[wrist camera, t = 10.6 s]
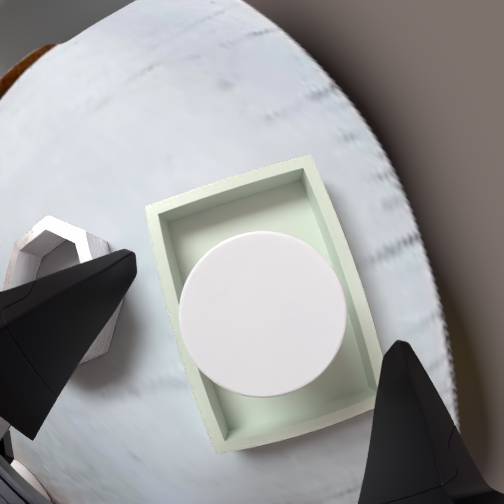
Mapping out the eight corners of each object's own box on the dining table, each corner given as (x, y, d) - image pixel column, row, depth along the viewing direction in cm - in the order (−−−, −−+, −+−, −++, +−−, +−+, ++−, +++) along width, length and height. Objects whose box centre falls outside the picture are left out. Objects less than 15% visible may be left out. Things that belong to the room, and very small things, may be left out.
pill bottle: (222, 263, 18) (169, 209, 8) (314, 265, 17) (366, 214, 8) (218, 354, 17) (159, 404, 7) (311, 357, 16) (360, 413, 7)
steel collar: (99, 387, 17) (77, 396, 14) (18, 326, 19) (-4, 326, 16) (139, 254, 19) (118, 244, 16) (49, 217, 20) (28, 206, 17)
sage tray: (378, 389, 16) (392, 399, 14) (223, 437, 16) (216, 453, 14) (306, 172, 19) (310, 154, 17) (158, 218, 19) (144, 207, 17)
